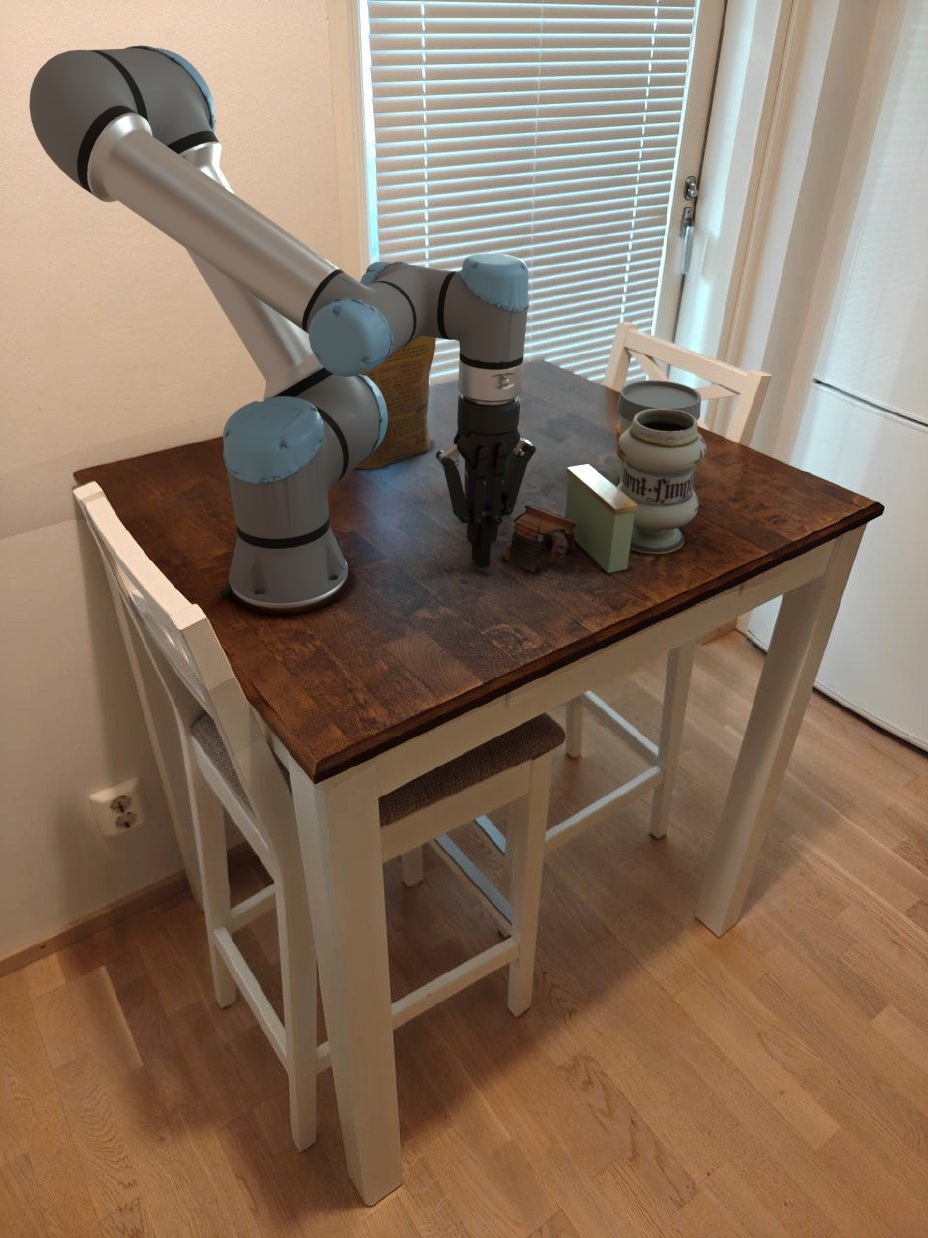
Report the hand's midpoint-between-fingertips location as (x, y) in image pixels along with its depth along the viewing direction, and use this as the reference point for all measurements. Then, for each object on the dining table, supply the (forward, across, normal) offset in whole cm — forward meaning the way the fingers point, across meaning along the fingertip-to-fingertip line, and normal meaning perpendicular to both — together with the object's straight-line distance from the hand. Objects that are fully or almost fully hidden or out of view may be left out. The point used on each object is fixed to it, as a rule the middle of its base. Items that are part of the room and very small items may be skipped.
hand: (480, 562), depth 120 cm
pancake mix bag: (+2, +2, +38) cm, 38 cm away
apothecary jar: (+1, +26, -1) cm, 26 cm away
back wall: (+1, +17, -1) cm, 17 cm away
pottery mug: (+1, +9, -1) cm, 9 cm away
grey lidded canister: (+1, +36, +14) cm, 38 cm away
